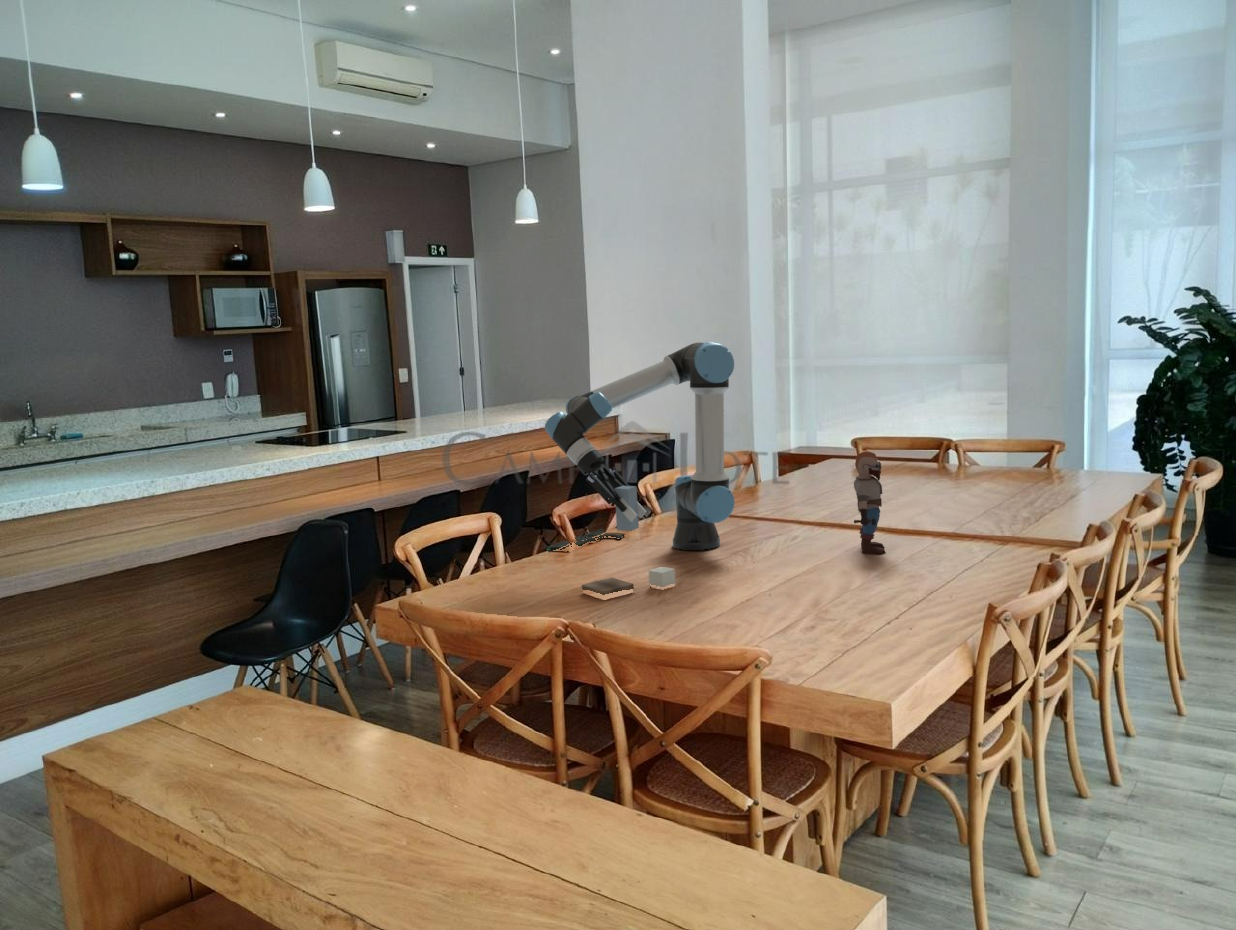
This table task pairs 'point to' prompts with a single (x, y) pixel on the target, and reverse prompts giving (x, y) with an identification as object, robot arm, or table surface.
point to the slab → (608, 586)
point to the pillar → (631, 499)
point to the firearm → (586, 536)
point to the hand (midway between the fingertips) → (638, 516)
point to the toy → (868, 500)
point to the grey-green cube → (662, 576)
